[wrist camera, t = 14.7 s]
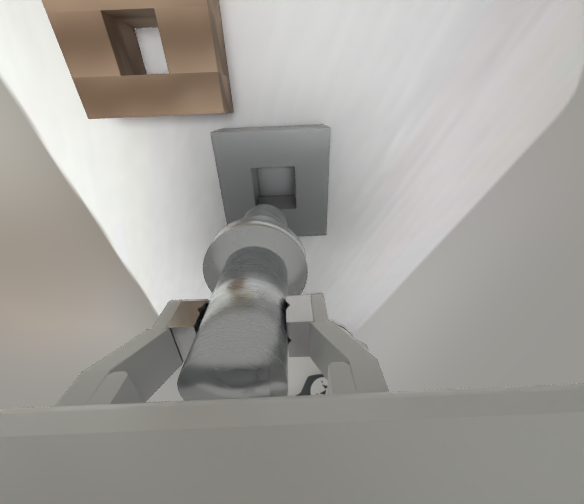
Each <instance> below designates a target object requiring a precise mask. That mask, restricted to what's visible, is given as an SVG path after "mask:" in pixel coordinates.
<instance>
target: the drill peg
mask: <svg viewBox="0 0 584 504" xmlns="http://www.w3.org/2000/svg"><path fill="white" fill-rule="evenodd" d="M203 273H204V278H205V281H206V283H207V285H208V287H209V289H210V290H211V291H212V293H213V294H212V296H211V299H210V301H209V304H208V306H207V309H206V311H205V314H204V316H203V318H202V321H201V323H200V326H199V328H198V331H197V333H196V336H195V338H194V340H193V343H192V345H191V348H190V350H189V353H188V355H187V358H186V360H185V363H184V365H183V367H182V370H181V372H180V375H179V378H178V382H177V385H178V390H179V393H180V395H181V397H182V398H183V399H184V401H189V400H212V399H235V398H259V397H282V396H287V394H288V336H287V326H286V309H287V306H286V295H300V294H301V292H302V291H303V289H304V287H305V284H306V280H307V263H306V255H305V251H304V248H303V245H302V243H301V241H300V240H299V238H298V237H297V236H296V235H295V233H294V232H292V231H291V230H290V229H289V228H288V227H287V220H286V217H285V216H284V214H283V213H282V212H281V211H280V210H279V209H278V208H276V207H275V206H272V205H268V204H260V205H256V206H254V207H252V208H251V209H249V210H248V211H247V213H246V214H245V216H244V218H243V219H239V220H236V221H234V222H232V223H230V224H228V225H226V226H225V227H224V228H223V229H221V230H220V232H219V233H218V234H217V235H216V237H215V238H214V240H213V241H212V243H211V245H210V247H209V248H208V250H207V252H206V255H205V258H204V262H203Z"/></svg>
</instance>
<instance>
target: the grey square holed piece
mask: <svg viewBox="0 0 584 504" xmlns="http://www.w3.org/2000/svg"><path fill="white" fill-rule="evenodd" d="M211 139H212V144H213V150H214V155H215V161H216V166H217V172H218V177H219V183H220V188H221V194H222V199H223V205H224V210H225V216H226V221H227V225H228V224H230V223H232V222H234V221H236V220H239V219H243V218H244V216H245V214H246V213H247V211H248V210H249V209H251V208H252V207H254V206H256V205H260V204H268V205H272V206H275V207H276V208H278V209H279V210H280V211H281V212H282V213H283V214H284V216H285V217H286V220H287V227H288V228H289V229H290V230H291V231H292V232H294V233H295V235H296V236H318V235H326V231H327V204H328V176H329V149H330V127H328V126H326V125H324V124H321V125H297V126H273V127H249V128H226V129H219V130H217V131H214V132H211ZM292 166H294V177H295V195H287V196H264V197H260V196H259V187H258V177H257V168H269V167H292Z"/></svg>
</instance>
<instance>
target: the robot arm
mask: <svg viewBox="0 0 584 504" xmlns="http://www.w3.org/2000/svg"><path fill="white" fill-rule="evenodd" d="M208 304H209V300H208V299H184V300H171V301H169V302H168V303H167V305H166V307H165V308H164V310H163V311H162V313H161V314H160V316H159V318H158V319H157V321H156V322H155V324H154V325H153V327H152V329H147V330H145V331H144V332H142V333H141V334H139V335H138V336H136V337H135V338H133V339H132V340H130V341H129V342H127V343H125V344H124V345H122V346H121V347H119V348H118V349H117V350H115V351H113V352H112V353H110V354H109V355H107V356H106V357H104V358H103V359H101V360H99V361H98V362H97V363H95V364H93V365H92V366H90V367H89V368H87V369H86V370H84V371H83V372H81V374H80V375H79V376H78V377H77V379H76V380H75V381H74V383H73V384H72V385H71V386H70V387H69V389H68V390H67V391H66V393H65V394H64V395H63V396H62V397H61V399H60V400H59V401H58V402H57V404H56V405H55V406H50V407H27V408H4V409H0V504H584V383H583V384H560V385H537V386H517V387H516V386H515V387H495V388H494V387H492V388H470V389H469V388H468V389H447V390H424V391H399V392H389V390H388V387H387V385H386V382H385V379H384V376H383V374H382V371H381V368H380V366H379V363H378V360H377V359H376V358H375V357H374V356H372V355H371V354H370V353H369V352H368V347H367V345H366V344H364V343H362V342H360V341H358V340H355V339H354V338H353V337H352V335H351V334H350V333H349V332H348V331H347V330H345V329H344V328H342V327H340V326H338V325H337V324H335V323H334V322H333V321H329V320H328V315H327V310H326V305H325V300H324V296H323V294H322V293H317V294H306V295H286V306H287V309H286V326H287V336H288V394H287V396H282V397H259V398H235V399H212V400H189V401H165V402H146V401H147V400H148V399H149V398H150V397H151V396H152V395H153V394H154V393H155V392H156V391H157V389H159V388H160V387H161V386H162V384H164V382H165V381H166V380H167V379H168V378H169V377H170V376H171V375H172V374H173V373H174V372H175V371H176V370H177V369H178V368H179V367H180V366H181V365H182V364H183V363H182V362H185V360H186V358H187V355H188V353H189V350H190V348H191V345H192V343H193V340H194V338H195V336H196V333H197V331H198V328H199V326H200V323H201V321H202V318H203V316H204V314H205V311H206V309H207V306H208Z"/></svg>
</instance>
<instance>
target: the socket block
mask: <svg viewBox="0 0 584 504" xmlns="http://www.w3.org/2000/svg"><path fill="white" fill-rule="evenodd" d="M42 3H43V5H44V8H45V10H46V13H47V15H48V18H49V20H50V23H51V25H52V28H53V30H54V33H55V36H56V38H57V41H58V43H59V46H60V48H61V51H62V53H63V56H64V58H65V61H66V63H67V66H68V68H69V71H70V74H71V76H72V79H73V81H74V84H75V86H76V89H77V91H78V94H79V96H80V99H81V101H82V104H83V107H84V109H85V112H86V114H87V117H88V119H99V118H123V117H147V116H170V115H194V114H218V113H231V112H233V104H232V97H231V89H230V82H229V74H228V67H227V60H226V52H225V45H224V37H223V30H222V22H221V15H220V7H219V0H42ZM144 27H159V32H160V36H161V40H162V45H163V49H164V53H165V58H166V62H167V66H168V71H169V74H151V75H146V71H145V67H144V63H143V60H142V56H141V52H140V49H139V45H138V41H137V37H136V34H135V30H134V28H144Z"/></svg>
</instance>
